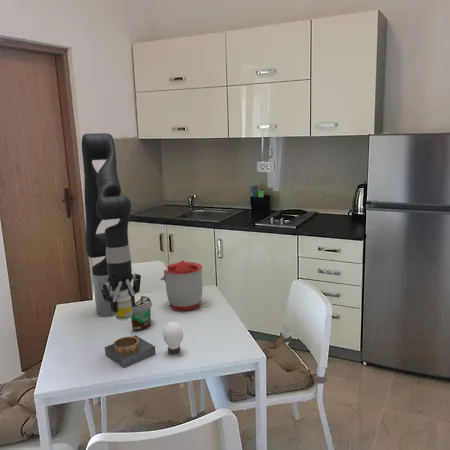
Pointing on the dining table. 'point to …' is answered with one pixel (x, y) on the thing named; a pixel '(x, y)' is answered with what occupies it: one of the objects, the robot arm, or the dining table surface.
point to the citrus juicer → (184, 285)
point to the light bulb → (173, 337)
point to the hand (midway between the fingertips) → (123, 308)
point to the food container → (141, 314)
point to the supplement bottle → (124, 305)
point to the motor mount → (129, 350)
